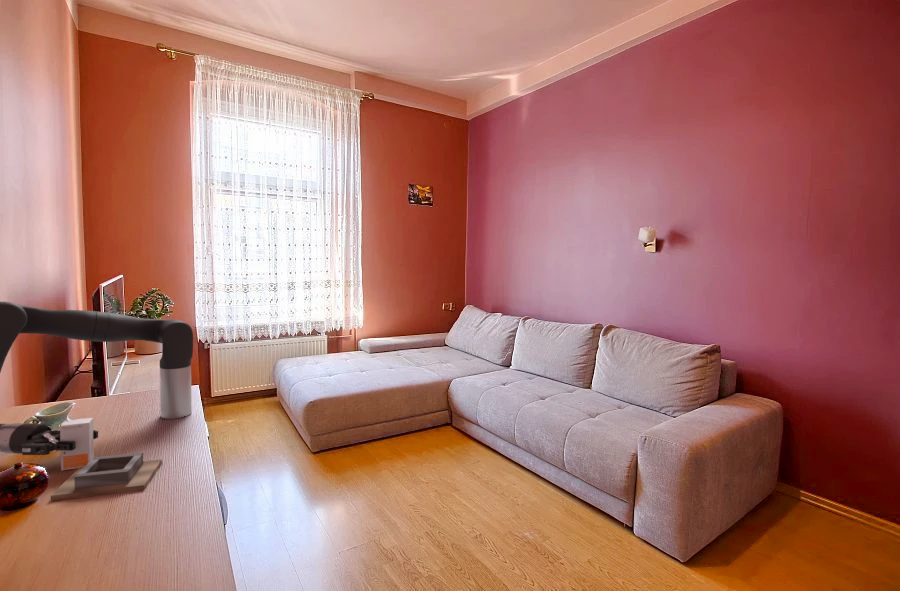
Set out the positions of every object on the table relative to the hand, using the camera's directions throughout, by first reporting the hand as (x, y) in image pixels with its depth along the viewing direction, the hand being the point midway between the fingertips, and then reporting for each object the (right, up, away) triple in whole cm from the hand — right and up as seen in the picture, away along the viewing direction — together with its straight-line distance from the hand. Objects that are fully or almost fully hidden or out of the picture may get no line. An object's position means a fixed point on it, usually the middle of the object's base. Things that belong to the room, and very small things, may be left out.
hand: (86, 440), depth 115 cm
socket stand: (+11, -8, -6) cm, 15 cm away
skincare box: (-2, -7, +1) cm, 8 cm away
